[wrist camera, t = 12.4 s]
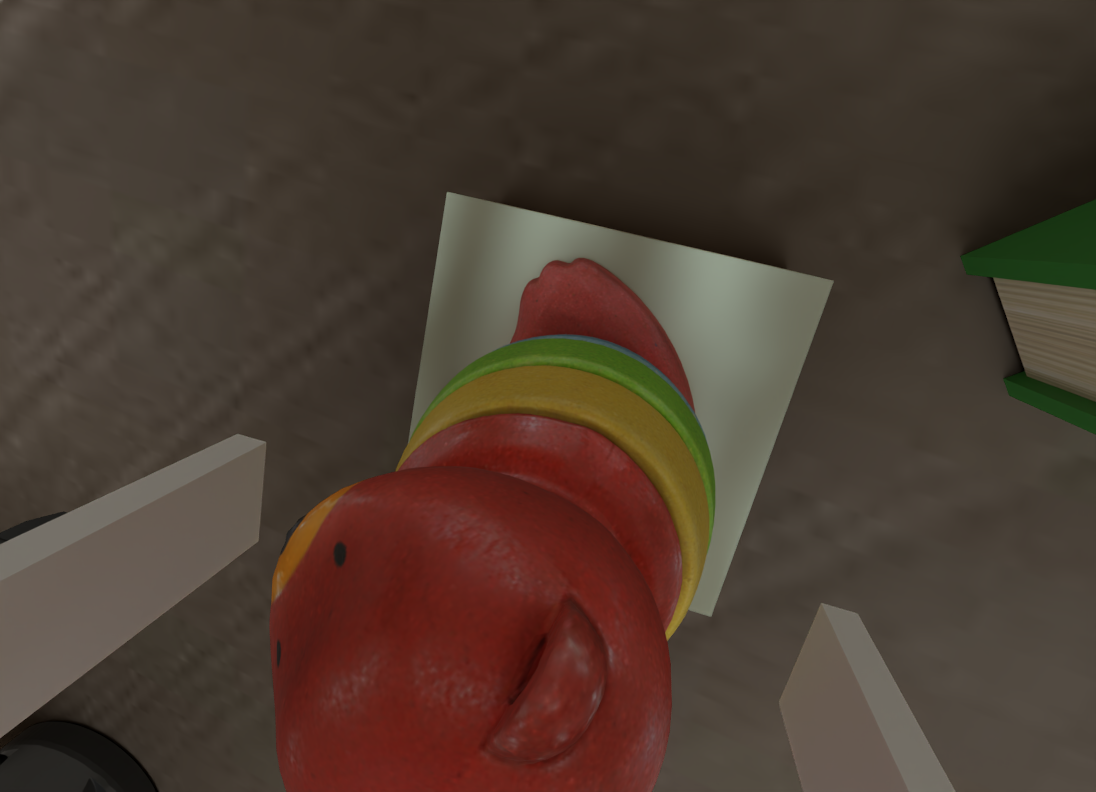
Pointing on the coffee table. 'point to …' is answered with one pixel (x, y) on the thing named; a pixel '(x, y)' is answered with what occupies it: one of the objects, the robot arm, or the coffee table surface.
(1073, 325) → the hardback book
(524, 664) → the stacking bear
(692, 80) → the coffee table surface
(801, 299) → the tower base
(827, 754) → the robot arm
